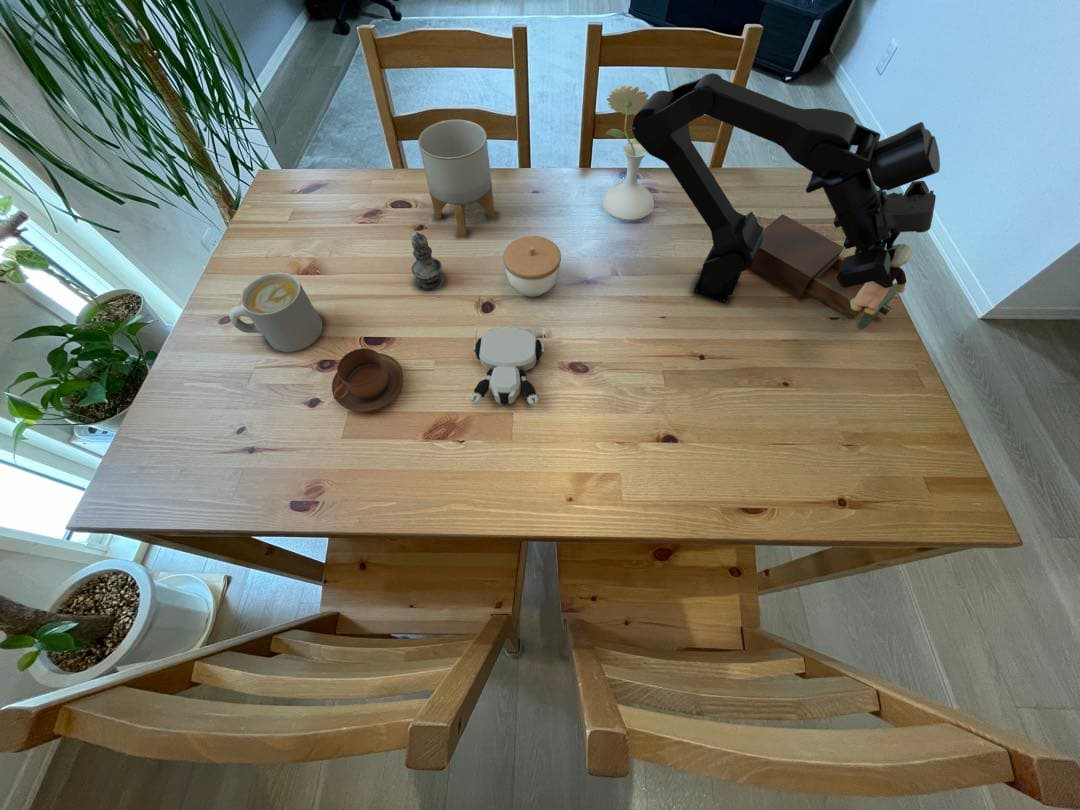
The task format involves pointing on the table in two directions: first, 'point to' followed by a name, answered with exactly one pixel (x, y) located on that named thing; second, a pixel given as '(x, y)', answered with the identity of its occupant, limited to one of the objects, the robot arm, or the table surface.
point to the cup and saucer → (366, 380)
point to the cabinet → (792, 255)
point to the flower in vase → (628, 162)
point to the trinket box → (532, 264)
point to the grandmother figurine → (875, 293)
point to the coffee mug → (278, 312)
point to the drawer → (843, 292)
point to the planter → (457, 168)
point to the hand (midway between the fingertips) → (890, 281)
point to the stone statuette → (425, 265)
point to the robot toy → (507, 363)
